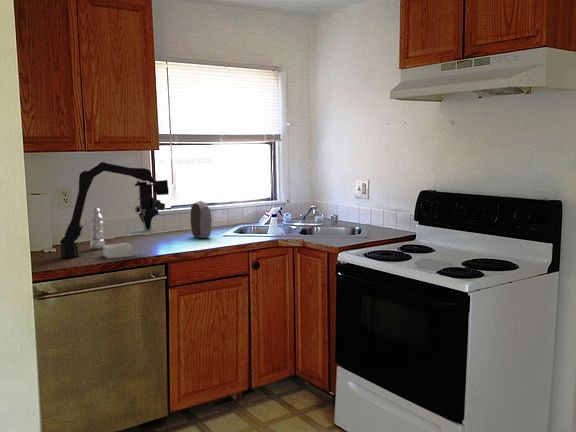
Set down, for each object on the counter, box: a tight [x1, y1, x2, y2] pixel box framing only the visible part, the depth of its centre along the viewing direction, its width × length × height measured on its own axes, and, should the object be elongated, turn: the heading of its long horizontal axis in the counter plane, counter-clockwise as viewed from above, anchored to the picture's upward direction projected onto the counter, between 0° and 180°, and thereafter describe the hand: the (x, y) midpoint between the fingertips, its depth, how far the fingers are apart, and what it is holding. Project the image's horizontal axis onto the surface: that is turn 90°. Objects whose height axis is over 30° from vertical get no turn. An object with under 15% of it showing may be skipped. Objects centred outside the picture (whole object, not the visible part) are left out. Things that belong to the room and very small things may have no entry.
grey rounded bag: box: [190, 200, 213, 239], centre depth 298 cm, size 15×8×20 cm, turn 37°
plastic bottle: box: [88, 207, 106, 250], centre depth 268 cm, size 6×7×20 cm
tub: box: [102, 242, 134, 260], centre depth 252 cm, size 11×9×5 cm
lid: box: [129, 222, 154, 235], centre depth 256 cm, size 9×7×4 cm
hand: (147, 228), depth 257 cm, fingers closed on lid, 3 cm apart
